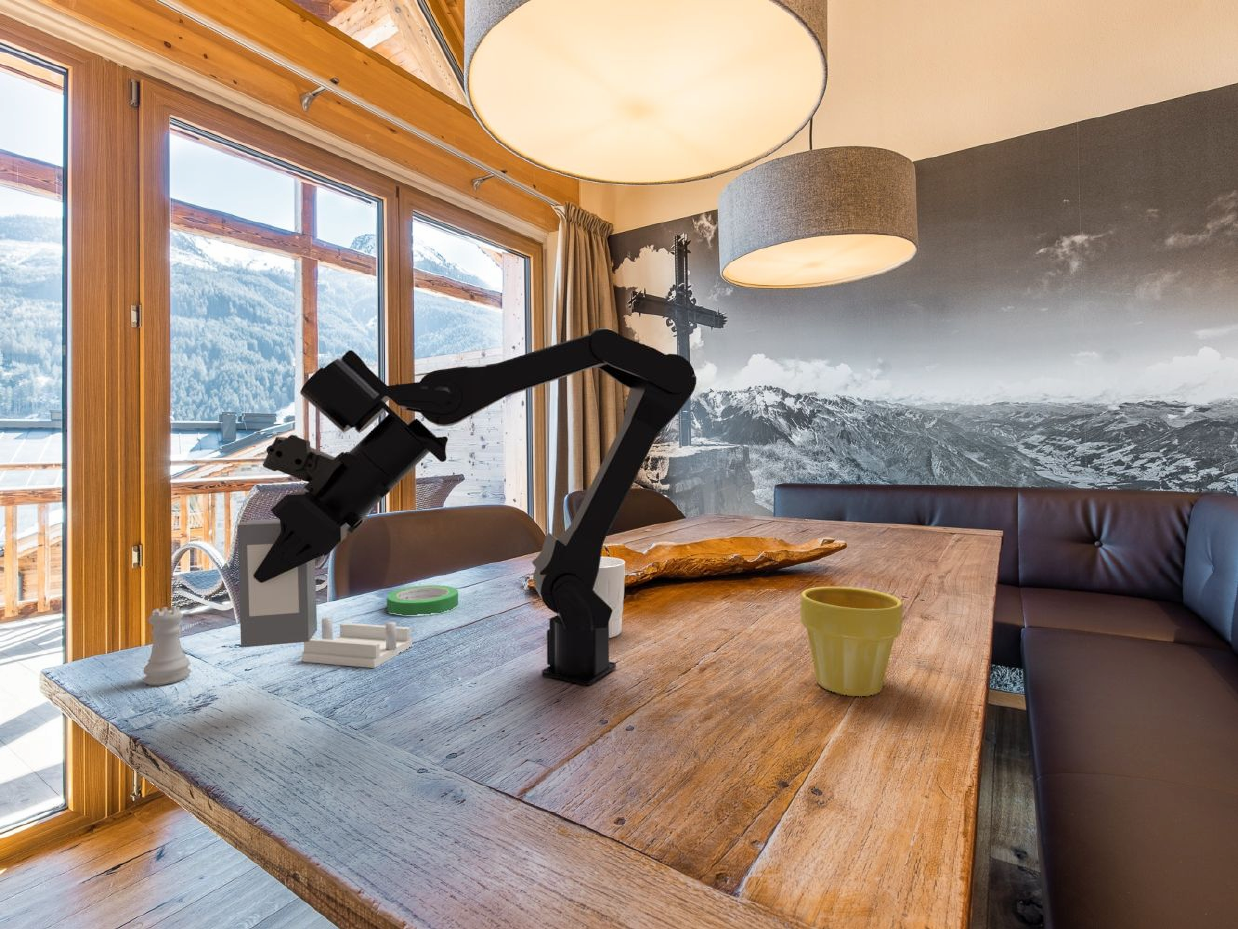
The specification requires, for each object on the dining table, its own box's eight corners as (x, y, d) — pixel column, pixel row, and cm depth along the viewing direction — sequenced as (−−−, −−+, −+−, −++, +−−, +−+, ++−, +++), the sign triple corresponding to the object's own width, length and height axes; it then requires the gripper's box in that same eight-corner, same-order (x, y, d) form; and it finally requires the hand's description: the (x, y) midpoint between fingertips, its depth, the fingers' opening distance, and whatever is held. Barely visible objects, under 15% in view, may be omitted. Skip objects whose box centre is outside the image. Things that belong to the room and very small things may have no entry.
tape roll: (419, 622, 92) (418, 605, 92) (372, 612, 98) (372, 595, 98) (472, 606, 102) (472, 590, 101) (426, 597, 107) (426, 582, 107)
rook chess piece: (201, 674, 71) (199, 605, 71) (163, 688, 66) (160, 616, 66) (171, 670, 72) (169, 603, 72) (132, 684, 68) (130, 613, 67)
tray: (413, 646, 80) (412, 614, 80) (376, 668, 72) (375, 633, 72) (344, 641, 82) (343, 610, 82) (300, 661, 75) (300, 627, 75)
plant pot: (897, 674, 70) (898, 589, 70) (906, 711, 60) (907, 612, 60) (802, 663, 73) (803, 582, 73) (797, 696, 64) (797, 603, 63)
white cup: (595, 621, 91) (594, 554, 91) (636, 631, 86) (636, 560, 86) (557, 633, 85) (557, 562, 85) (600, 645, 80) (599, 569, 80)
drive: (316, 630, 65) (313, 517, 65) (308, 641, 61) (305, 522, 61) (253, 635, 63) (250, 520, 63) (241, 647, 60) (237, 525, 59)
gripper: (333, 413, 72) (229, 511, 69) (295, 403, 54) (152, 534, 51) (406, 479, 74) (308, 576, 71) (392, 490, 56) (261, 620, 53)
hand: (263, 575), depth 62 cm, fingers closed on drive, 4 cm apart
